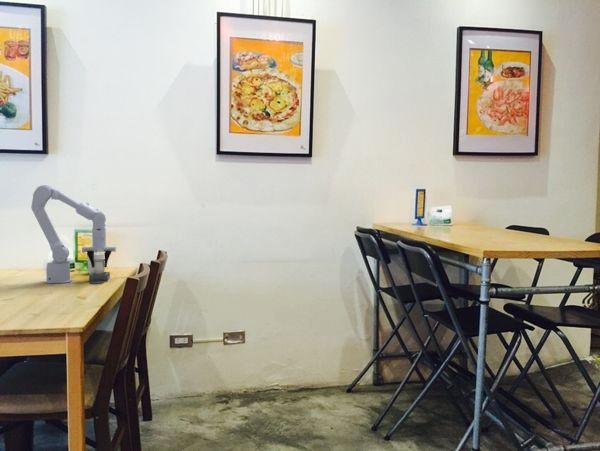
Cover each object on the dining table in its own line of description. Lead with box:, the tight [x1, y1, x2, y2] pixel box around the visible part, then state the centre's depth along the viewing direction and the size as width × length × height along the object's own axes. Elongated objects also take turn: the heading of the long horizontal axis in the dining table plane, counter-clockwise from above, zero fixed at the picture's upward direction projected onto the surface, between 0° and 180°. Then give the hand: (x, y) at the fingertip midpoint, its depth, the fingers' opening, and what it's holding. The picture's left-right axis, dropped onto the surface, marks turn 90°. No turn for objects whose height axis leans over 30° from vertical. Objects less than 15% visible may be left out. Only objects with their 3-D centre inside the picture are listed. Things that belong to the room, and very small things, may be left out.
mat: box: [89, 281, 105, 285], centre depth 228 cm, size 6×6×1 cm
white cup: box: [86, 252, 105, 275], centre depth 251 cm, size 8×8×10 cm
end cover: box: [94, 258, 106, 275], centre depth 235 cm, size 5×5×7 cm
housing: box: [88, 271, 111, 283], centre depth 236 cm, size 8×8×3 cm
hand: (99, 267), depth 235 cm, fingers closed on end cover, 5 cm apart
